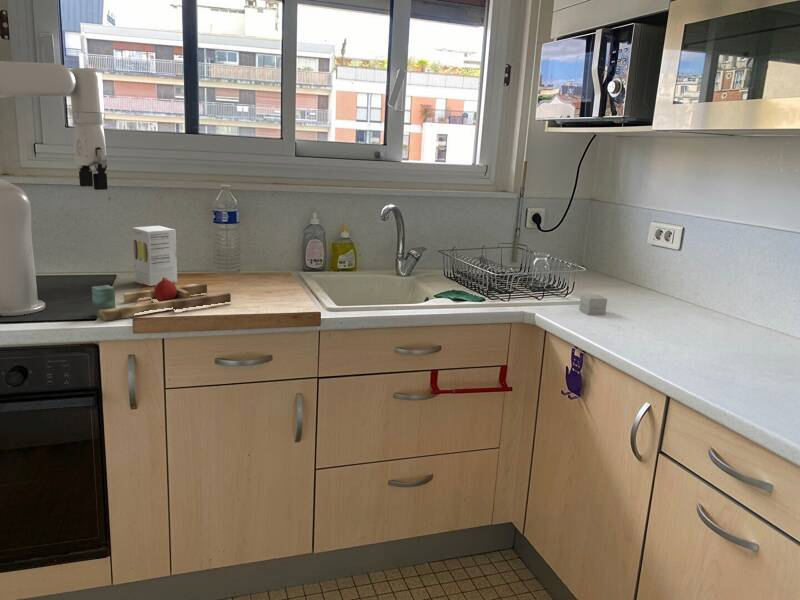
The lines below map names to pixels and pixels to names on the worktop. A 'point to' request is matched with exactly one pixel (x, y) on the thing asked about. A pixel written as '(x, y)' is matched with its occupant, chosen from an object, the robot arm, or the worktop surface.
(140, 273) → the supplement box
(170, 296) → the onion
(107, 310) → the tan frame
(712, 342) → the worktop surface
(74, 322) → the worktop surface
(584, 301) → the small box
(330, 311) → the worktop surface
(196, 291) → the lane rails
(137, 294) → the broken strip
